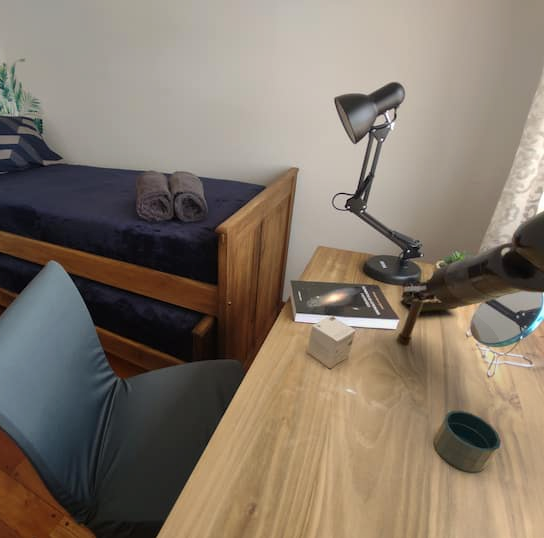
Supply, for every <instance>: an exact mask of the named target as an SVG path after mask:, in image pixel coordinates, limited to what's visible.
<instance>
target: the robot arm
mask: <svg viewBox="0 0 544 538" xmlns="http://www.w3.org/2000/svg"><path fill="white" fill-rule="evenodd" d="M407 282H408V281H407ZM407 282H402V283H401V284H402V294H404V295H403V297H404V298H403V297H402V298H403V300H404V302H405V303H406V304H411V303H414V302H418V301H421V302H424V303H427V302H442V303H444V304H446V305H448V306H452V307H457V308H463V307H468V306H472V305H476V304H480V303H485V302H490V301H493V300H496V299H498V298H501V297H504V296H508V295H512V294H518V293H522V292H525V293H534V294H535V293H537V294H544V210H543V211H541V212H539V213H537V214H534V215H533V216H531V217H530V218H528V219H526V220H524V221H523V222H521V223H520V225H518V227H517V228H516V229H515V230H514V232H513V233H512V237H511V241H510V242H506V243H505V242H504V243H502V244H499V245H496V246H493V247H491V248H489V249H486V250H484V251H481V252H478V253H475V254H471V255H467V256H465V257H462V258H460V259H457V260H455V261H453V262H450V263H448V264H445V265H443V266H441V267H438V268H437V269H436V270H434V272H433V273H432V276H431V277H430V278H429V279H427V280H426V281H423V282H421V283H420V284H418V286H413V284H410V283H407ZM424 303H423V304H424Z"/></svg>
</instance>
